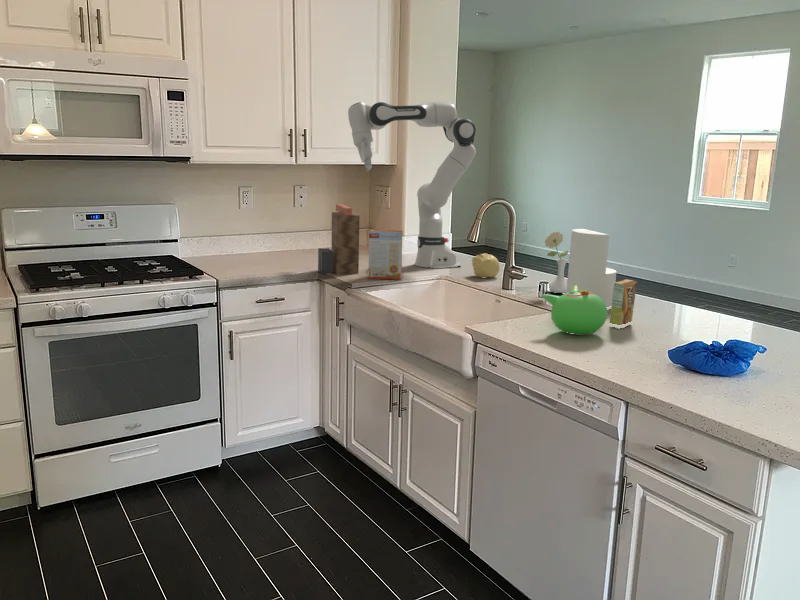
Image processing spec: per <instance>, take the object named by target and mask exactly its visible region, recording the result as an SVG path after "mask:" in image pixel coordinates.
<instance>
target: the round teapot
mask: <svg viewBox="0 0 800 600" xmlns="http://www.w3.org/2000/svg"><path fill="white" fill-rule="evenodd" d="M541 297H542V299H544V300H545V301H546V302H547V303H549V304H550V305H552V307H551V312H550V315H551V319H552V322H553V324H554V325H555V326H556V328H558V330H560V331H561V330H562V331H561V332H563V331H564V333H565V332H568V333H574V334H586V335H590V334H593V333H595V332H596V331H598V330H600V329H601V328H602V327H603V326H604V325H605V322H606V320H607V317H608V310H607V308H606V305H605V303H604V302H603V300H602V299H601V298H600V297H599V296H597V295H595V294H593V293H591V292H589V291H583V290H579V288H578V286H577V285H575V286H573V288H572V289H571V291H570V292H568V293H565V294H560V295H553V294H547V293H546V294H545V293H544V294H541ZM568 333H567V334H568ZM589 333H590V334H589Z"/></svg>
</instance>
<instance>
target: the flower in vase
mask: <svg viewBox="0 0 800 600" xmlns="http://www.w3.org/2000/svg"><path fill="white" fill-rule="evenodd" d="M563 239H564V235H563V233H561V232H558V231H556V232H552V233H550V234H549V236H547V237H546V238H545V241H544V243H545V246H546V247H548V248H550V249H551V248H552V249H553V248H556V251H555V250H552V251H550V252H548V253H547V256H549V257H555V256H556V255H558V258H555V261H556V263H557V271H558V272H557V277H556V278H555V279H554V280H552V281H551V282H549V283H548V284H549V288H550V291H551V292H556V293H566V291H567V280H566V279H565V274H564V273H565V267H566V265H567V263H569V259H567V258H562V257H566V256H567V255H568V254H569V250H566V251H563V252H561V253H560V254H559V252H558V246H560V244H561V243H562V242H563ZM551 292H550V293H551Z"/></svg>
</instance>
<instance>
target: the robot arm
mask: <svg viewBox="0 0 800 600" xmlns="http://www.w3.org/2000/svg"><path fill="white" fill-rule="evenodd" d="M347 115H348V121H349V122H348V123H349V126H350V128H351V136H352V142H353V144H354V146H355V147H356V148H357V151H358V154H359V157H360V160H361V162H362V163H364V166H365V170H366V172H369V171H371V169H372V168H373V166H372V157H373V151H372V148H371V147H372V143H373V142H374V138H373V134H372V130H381V129H384V128H385V127H386V126H387V125H389V123H391V122H394V121H395V122H396V121H398V122H399V121H412V122H415V124H416V125H418V126H419V127H423V128H424V127H425V128H434V127H435V128H436V127H442V128H443V132H444V135H445V138H446V139H447V140H448V141H449V142H451V143H453V147H452V149H451V151H450V152H449V154H448V155H447V156H446V158H445V159H444V160H443V161H442V163H441V164H440V165H439V167H438V168H437V170H436V172H435V175H434V177H433V179H432V181H431V182H430V183H429V182H427V183H424V184H422V185H420V187H419V188H418V190H417V193H416V196H417V205H418V206H417V207H418V216H419V221H418V222H419V223H418V225H419V226H418V228H419V229H418V230H419V231H418V236H417V253H416V258H415V262H414V266H417V267H421V268H428V267H430V269H447V268H446V267H451V268H459V267H458V266H461V267H462V264H461V263H460V262H458V261H457V260H458V259H457V255H456V253H455V252H454V250H452V249H451V248H450V247H449V246H448V245H446V243H448V242H449V239H448V237H444V236H443V217H442V211H441V210H442V209H441V208H443V207H444V206H445V205H446V204H447V203H448V201H449V198H450V196H451V194H452V192H453V190H454V188H455V186H456V185H457V183H458V182H459V180H460V179H461V177H462V176H463V175H464V173H466V171H467V169H468V168H469V167H470V166H471V164H472V162H473V160H474V158H475V156H476V154H477V150H476V148H475V145H473V143H474V141H475V136H476V132H477V129H476V125H475V123H474V122H473V121H472V120H470V119H468V118H460V117H459V116H458V114H457V107H456V106H455V104H453V103H450V102H445V101H433V102H432V101H430V102H423V103H419V104H415V105H392V104H390V103H387V102H383V101H382V102H381V101H380V102H376V103H374V104H373V105H368V104H366V103H364V102H363V101H360V102H355V103H353V104H351V106H349V108H348V111H347Z"/></svg>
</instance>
